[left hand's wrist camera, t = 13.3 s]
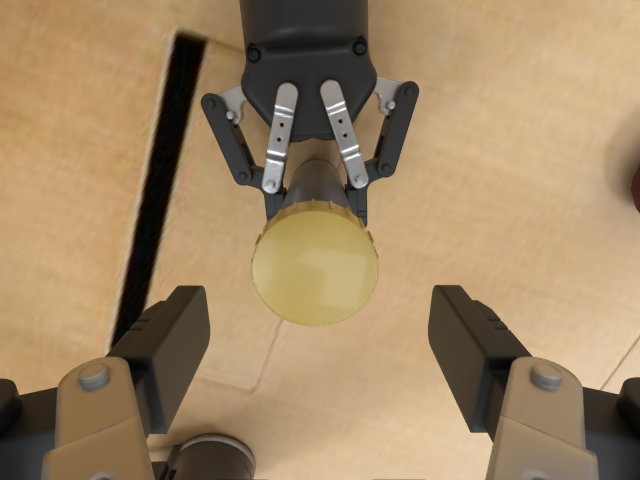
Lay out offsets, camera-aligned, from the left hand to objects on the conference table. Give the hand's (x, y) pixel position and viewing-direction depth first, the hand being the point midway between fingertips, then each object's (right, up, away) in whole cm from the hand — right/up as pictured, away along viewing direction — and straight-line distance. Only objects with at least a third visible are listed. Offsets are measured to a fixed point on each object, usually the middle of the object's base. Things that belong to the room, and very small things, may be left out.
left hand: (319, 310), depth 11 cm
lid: (0, +1, +3) cm, 3 cm away
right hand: (0, +2, +15) cm, 15 cm away
